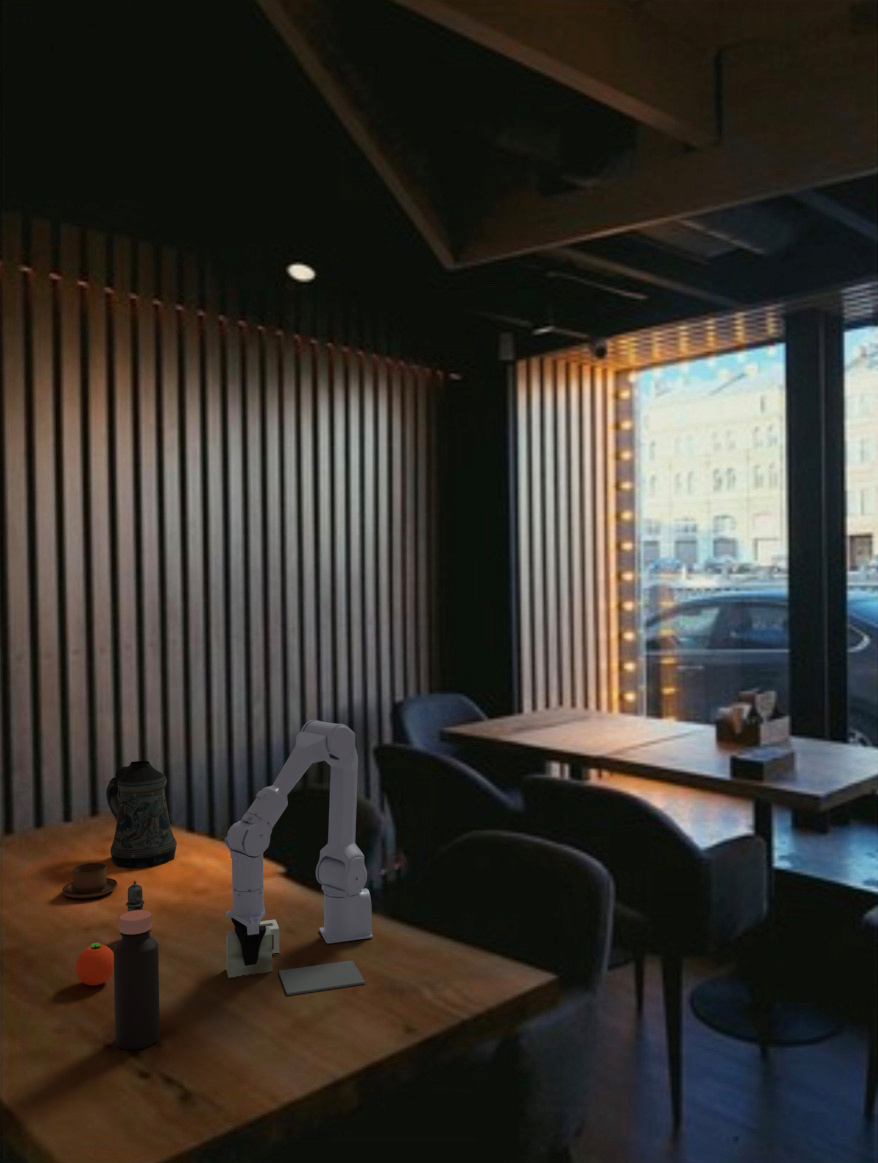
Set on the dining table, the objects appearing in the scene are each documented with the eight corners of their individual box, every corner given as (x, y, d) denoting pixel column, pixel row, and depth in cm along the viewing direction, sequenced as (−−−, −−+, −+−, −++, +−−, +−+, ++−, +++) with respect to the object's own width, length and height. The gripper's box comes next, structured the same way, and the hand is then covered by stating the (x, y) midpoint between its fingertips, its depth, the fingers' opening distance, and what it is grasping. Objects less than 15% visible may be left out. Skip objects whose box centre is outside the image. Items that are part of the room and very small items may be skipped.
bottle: (135, 1055, 147) (132, 926, 147) (105, 1044, 151) (103, 918, 150) (169, 1036, 153) (166, 912, 153) (140, 1026, 156) (138, 904, 156)
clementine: (74, 977, 176) (74, 939, 176) (114, 970, 178) (113, 933, 178) (76, 995, 168) (76, 955, 168) (118, 988, 171) (117, 948, 171)
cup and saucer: (50, 899, 219) (50, 872, 219) (88, 883, 230) (87, 857, 230) (92, 905, 214) (91, 878, 214) (128, 888, 225) (128, 862, 225)
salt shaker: (141, 946, 190) (140, 886, 190) (114, 944, 191) (113, 884, 191) (156, 934, 196) (155, 876, 196) (130, 933, 197) (129, 875, 197)
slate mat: (352, 962, 181) (352, 960, 181) (365, 983, 171) (365, 981, 171) (278, 972, 177) (278, 970, 177) (287, 995, 167) (287, 993, 167)
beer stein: (166, 868, 240) (164, 769, 239) (89, 869, 240) (87, 770, 240) (184, 849, 256) (183, 756, 256) (112, 849, 256) (111, 757, 256)
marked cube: (275, 944, 190) (275, 918, 190) (279, 954, 185) (279, 928, 185) (250, 947, 189) (250, 921, 189) (253, 957, 184) (253, 931, 184)
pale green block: (269, 963, 181) (268, 926, 181) (272, 971, 177) (271, 934, 177) (226, 969, 179) (225, 931, 178) (228, 977, 175) (227, 939, 175)
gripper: (222, 877, 183) (223, 947, 183) (230, 902, 170) (231, 978, 170) (259, 873, 185) (260, 942, 186) (269, 897, 172) (271, 972, 172)
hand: (249, 959), depth 178 cm, fingers closed on pale green block, 4 cm apart
